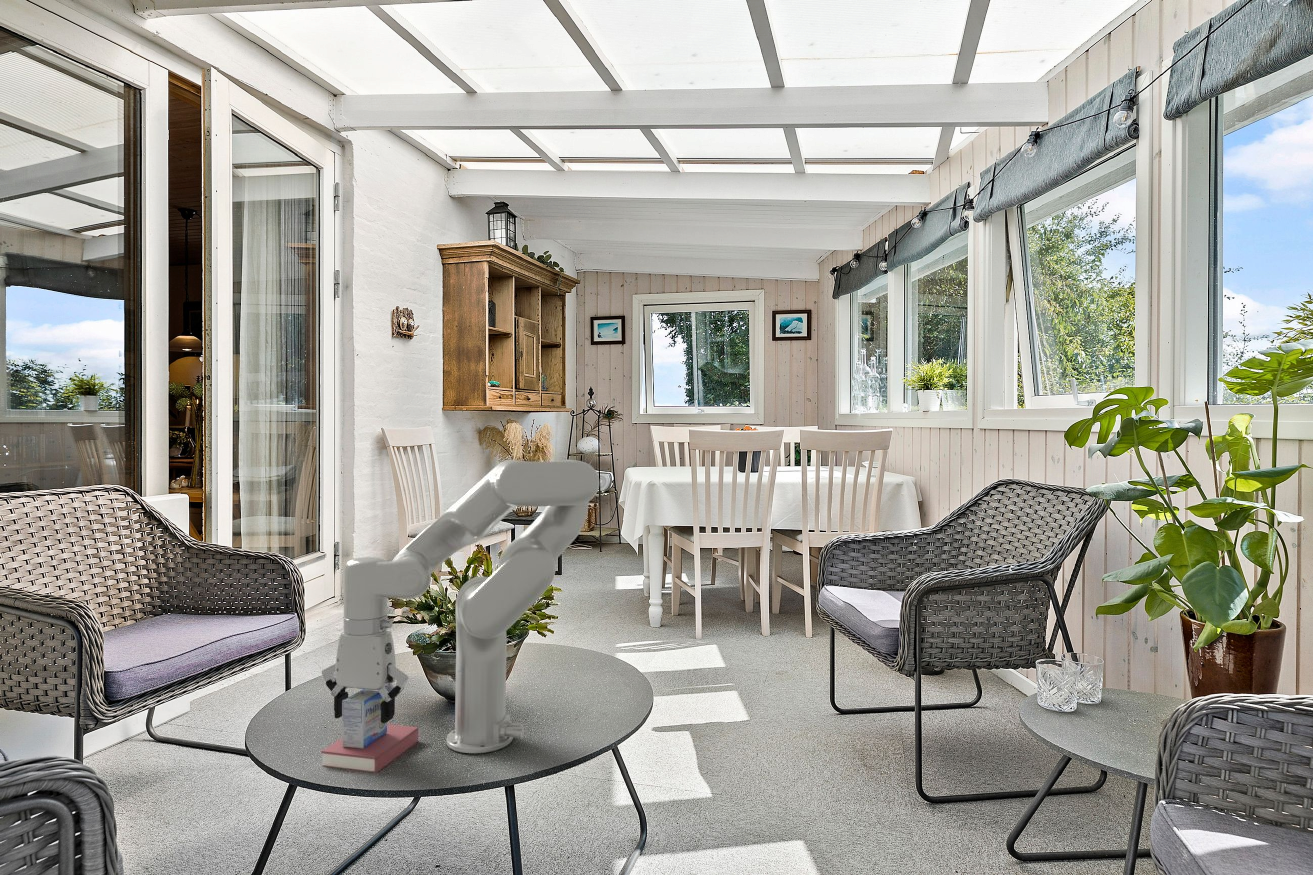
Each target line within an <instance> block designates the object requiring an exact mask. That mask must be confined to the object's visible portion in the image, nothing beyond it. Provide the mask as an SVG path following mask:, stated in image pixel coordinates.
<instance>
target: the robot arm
mask: <svg viewBox="0 0 1313 875" xmlns="http://www.w3.org/2000/svg"><path fill="white" fill-rule="evenodd" d="M599 488H600V478H599V474H598V472H597V471H596V469H595V468H594V467H593V466H592V465H591V464H590V463H588V462H585V461H582V460H576V459H569V458H568V459H562V460H559V461H527V460H525V461H524V460H518V459H506V460H503V461H501V462H500V463H499V464H497V465H496V466H494V468H492V469H491V470H490V471H489V472H488V473H487V474H485V475H484V476H483V477H482V478H481V479H480V480H479V481H477V483H476V484H474V486H473V487H471V488H470V489H469V490H468V491H467V492H466V493H465V494H464V495H463V496H462V497H461V498H459V499H458V500H457V501H456V502H455V503H454V504H453V505H451V506H450V507H449V508H448V509H447V510H445V511H444V512H443V513H442V514H441V515H440V516H439V517H438V518H437V519H436V520H434V521H433V522H432V523H430V525H428V526H427V527H426V528H424V530H422V531H421V532H420V533H419V534H418V535H417V536H416V537H415V538H413V540H411V541H410V542H409V543H408V544H406V546H405V547H404V548H403V549H401V551H399V553H397V554H396V555H395V556H394V557H393V559H392V560H389V561H386V560H385V559H384V558H382V557H377V556H376V557H375V556H373V557H371V556H368V557H367V556H366V557H365V556H362V557H357V558H353V559H350V560H348V561H347V562H346V563H345V565H344V570H343V571H344V572H343V573H344V574H343V577H344V578H343V631H342V632H341V633H340V636H339V639H338V645H337V650H336V657H335V658H336V659H335V663H334V664H332V665H330V666H328V667H326V668H324V669H323V670H322V671H321V674H322V677H323V680H324V681H325V685H326V687H327V688H328V689H329V691H330V696H332V697H334V698H333V712H334V719H340V718H342V701H343V700H345V699H347V698H348V697H349V692H348V691H346V690H347V689H348V688H350V689H359V690H363V689H368V690H378V691H379V693H380V694H381V696H382V697H383V699H384V701H382V702H381V723H386V722H387V723H388V722H389V721H392V719H393V718H394V716H395V714H396V712H395V710H396V705H395V704H396V698H397V697H398V696H399V694H400V693H401V692H403V690H404V689H405V686H406V684H407V683H408V681H409V678H410V677H409V676H408V675H407V674H406V673H405V672H403V671H401V670H400V669H399V668H397V666H396V664H397V663H396V652H395V651H396V649H395V644H394V638H393V634H392V631H390V630H388V629H392V627H393V621H392V620H389V618H388V617H389V615H388V598H389V599H390V598H391V599H400V600H412V599H416V598H419V597H420V596H422V595H424V594H425V593H426V592H427V590H428V589H429V587H430V586H431V582H432V577H431V575H432V574H433V573H434V572H435V571H436V570H437V569H438V568H439V567H440V566H441V565H442V564H443V563H444V562H445V561H447V560H448V559H449V558H451V557H452V556H453V555H454V554H456V553H457V552H458V551H460V550H462V549H463V548H466V547H468V546H471V545H474V544H476V543H477V542H480V541H481V540H482V539H484V537H486V535H487V534H488V533H490V531H492V530H493V529H494V528H495V527H496V525H498V524H499V523H500V522H501V521H502V520H503V519H505V517H507V516H508V514H509V513H511V512H512V511H514V510H515V508H517V507H545V508H544V509H543V510H542V512H541V513H540V514H539V516H537V517H536V519H535V520H534V521H533V522H532V523H531V524H530V525H529V526H528V527H526V529H524V530H523V532H521V533H520V534H519V535H518V536H517V537H515V539H514V540H513V541H512V542H510V543H509V544H507V546H506V547H505V548H504V549H503V551H502V553H501V555H500V556H499V560H498V566H499V567H498V568H497V569H496V570H494V571H493V573H491V575H489V577H488V576H476V577H473V578H471V579H469V580H467V581H466V582H465V583H464V584H463V585H462V586H461V587H460V589H459V591H458V593H457V596H456V599H455V632H456V633H455V635H456V641H455V642H456V645H455V648H456V650H455V654H456V655H455V657H456V658H455V701H454V702H455V704H454V706H455V707H454V708H455V709H454V710H455V711H454V714H455V716H454V729H453V730H451V731H450V732H449V733H448V734H447V736H446V745H447V746H448V748H449V749H451V750H453V751H455V752H458V753H464V754H486V753H491V752H495V751H499V750H500V749H503V748H505V747H507V746H508V745H509V744H511V743H512V741H513V740H514V739H523V738H524V735H525V728H524V723H515V722H512V721H511V714H509V713H506V699H507V698H506V695H507V693H506V692H507V689H506V688H507V651H508V650H507V646H508V645H507V631H508V629H510V628H511V627H513V625H514V624H515V623H516V622H517V621H519V619H520V618H521V617H522V616H523V615H524V614H525V613H526V612H527V611H528V610H529V609H530V608H532V606H533V605H534V604H535V603H536V602H537V601H538V600H539V599H540V598H541V597H542V596H543V595H544V594H545V592H547V590H548V589H549V588H550V586H551V584H552V582H553V580H554V577H555V574H556V562H555V561H556V560H557V559H558V558H559V557H560V556H561V555H562V554H563V553H564V551H566V550H567V548H568V547H569V546H570V545H571V544H572V543H573V542H574V540H576V538H577V537H578V536H579V534H580V533H581V531H582V529H583V528H584V525H585V523H586V521H587V520H586V519H587V516H588V513H589V512H588V511H589V503H590V501H592V499H594V498H595V497H596V495H597V493H598V490H599ZM334 674H335V675H334ZM394 682H396V683H395V685H394V684H393V683H394Z"/></svg>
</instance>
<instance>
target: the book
mask: <svg viewBox="0 0 1313 875" xmlns="http://www.w3.org/2000/svg"><path fill="white" fill-rule="evenodd" d="M418 742H419V727H418V726H417V727H416V726H408V725H399V724H388V723H387V733H385V734H384V735H383V736H381V737H380V738H378V739H377V740H375V741H374V742H373V743H371V744H370V745H368V746H367V747H366V748H364V749H359V748H350V747H343V746H342V737H341V738H340V739H338V740H336V741H335V742H334V743H332V744H330V745H328V746H327V747H326V748H323V749H322V750H321V754H322V764H321V765H322V766H321V767H325V766H327V767H326V768H333V767H334V769H335V768H336V769H341V768H343V770H350V769H351V771H358V772H359V771H360V772H366V773H367V772H368V773H373V774H374V773H375V774H376V773H379V772H380V771H381V770H383V769H384V768H385V767H386V766H388V765H389V764H391V762H393V761H394V760H395V759H397V758H398V757H400V756H401V755H402V754H403V753H405V752H406V751H408V750H409V749H410V748H412V747H413V746H414V745H416V744H417V743H418Z"/></svg>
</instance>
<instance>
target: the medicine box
mask: <svg viewBox="0 0 1313 875" xmlns="http://www.w3.org/2000/svg"><path fill="white" fill-rule="evenodd" d="M382 701H384V699H383V697H382V696H381V694H380V693H379V691H378V690H368V689H360V691H358V692H356V693H354V694H352V695H350V696H348V698H347V699H345V700H343V701H342V717H341V738H342V746H343V747H350V748H359V749H364V748H366V747H367V746H368V745H370V744H371V743H373V742H374V741H375V740H377V739H378V738H380V737H381V736H383V735H384V734H385V733H387V724H388V722H386V723H381V702H382Z"/></svg>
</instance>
